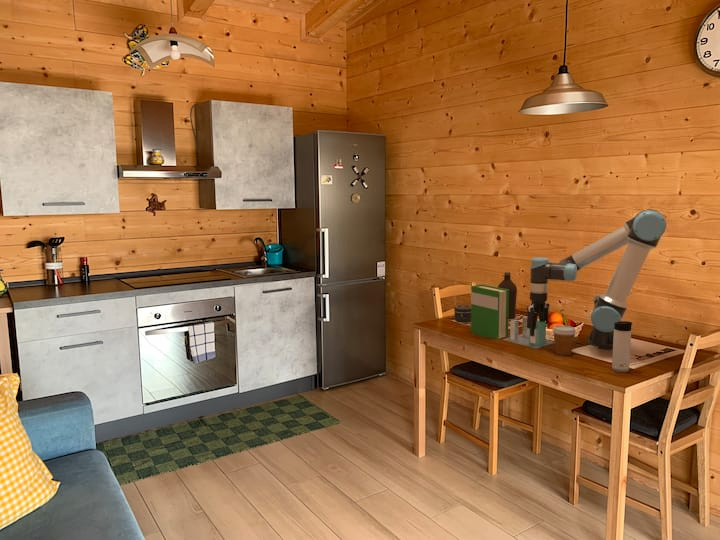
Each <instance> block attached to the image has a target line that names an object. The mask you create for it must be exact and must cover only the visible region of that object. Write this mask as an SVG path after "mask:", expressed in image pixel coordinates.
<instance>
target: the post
mask: <svg viewBox="0 0 720 540" xmlns="http://www.w3.org/2000/svg"><path fill="white" fill-rule="evenodd" d="M519 323H520V322H519V320H517V319H511V320H510V325H509V326H510V327H509V329H510V331H509V332H510V333H509V335H510V336H509V337H510V339H507V340H509V341H508V342H510V341H512V342H511V343H513V342H517V341H521V340H520V339H518V335H519V325H520V324H519Z"/></svg>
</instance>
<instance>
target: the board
mask: <svg viewBox="0 0 720 540" xmlns="http://www.w3.org/2000/svg"><path fill="white" fill-rule="evenodd" d="M519 336H522V333H520V334H518V339H520V340H521V341H517V342H512V341H509V340H507V339H510V336H508V337H505V338H503V339H502V338H501V339H502V340H503V341H505V342H506V341H507V342H510V343H514V344H518V345H521V346H524V347H525V346H526V347H529V348H533V349H540V348H543V347H545V346H549V345H552V344H555V341H552V340H548V339H546V342H545V345H543V346H539V347H537V346H534V345H530V344H529V338H528V339H526V338H522V337H519Z"/></svg>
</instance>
